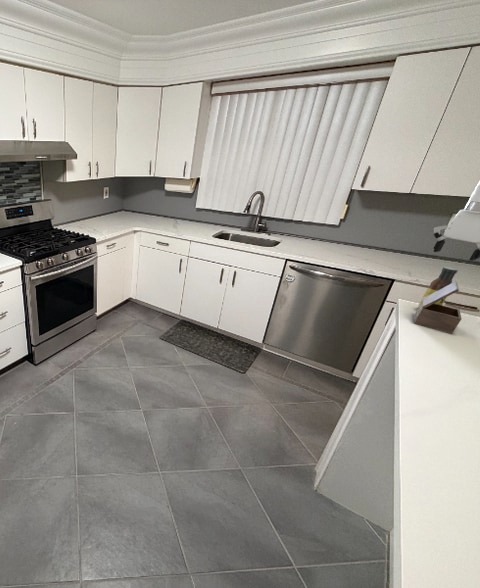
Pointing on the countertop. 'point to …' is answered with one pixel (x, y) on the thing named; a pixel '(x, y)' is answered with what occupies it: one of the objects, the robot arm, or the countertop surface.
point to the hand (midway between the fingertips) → (453, 255)
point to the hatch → (440, 294)
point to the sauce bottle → (440, 283)
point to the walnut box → (438, 317)
